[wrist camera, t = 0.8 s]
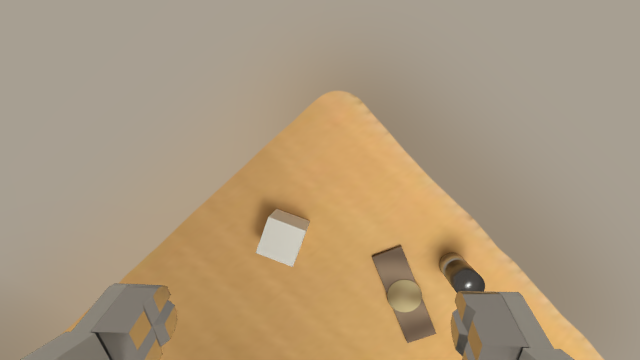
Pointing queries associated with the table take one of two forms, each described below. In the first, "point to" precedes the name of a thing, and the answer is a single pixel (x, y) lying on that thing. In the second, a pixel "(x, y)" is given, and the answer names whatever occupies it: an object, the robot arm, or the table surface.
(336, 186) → the table surface
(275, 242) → the white cube
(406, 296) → the strip
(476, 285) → the bottle with black cap
